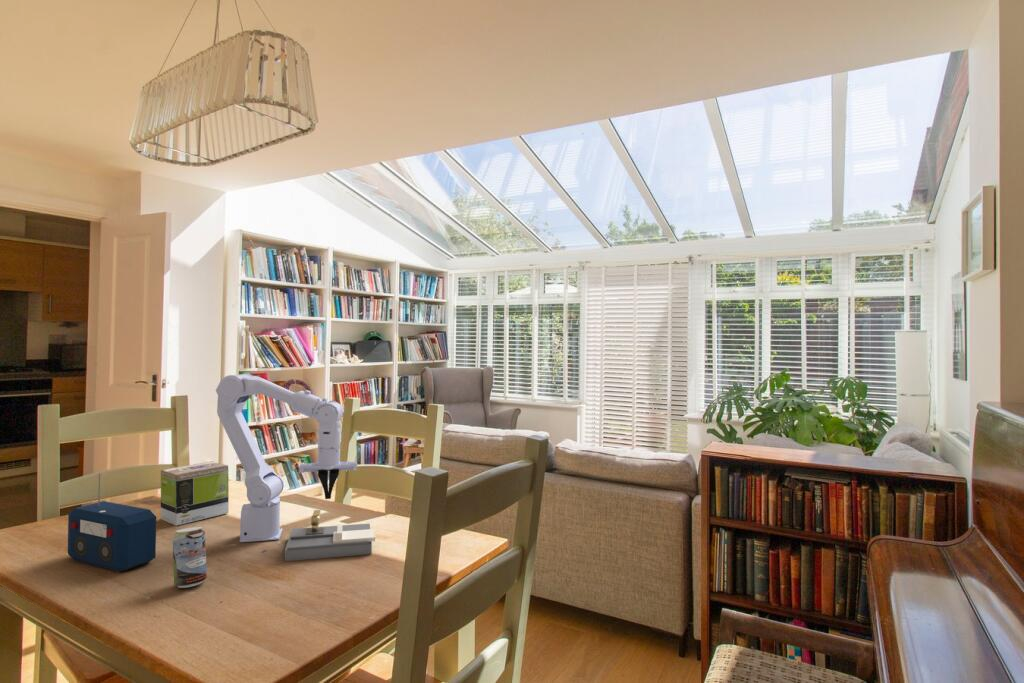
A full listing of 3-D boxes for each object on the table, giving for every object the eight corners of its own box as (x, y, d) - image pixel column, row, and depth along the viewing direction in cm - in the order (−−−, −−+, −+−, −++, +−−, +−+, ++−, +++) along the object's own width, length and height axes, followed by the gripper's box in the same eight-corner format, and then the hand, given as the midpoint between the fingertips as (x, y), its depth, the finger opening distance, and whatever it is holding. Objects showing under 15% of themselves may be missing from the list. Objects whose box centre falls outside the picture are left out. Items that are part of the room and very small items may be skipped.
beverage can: (183, 594, 114) (184, 536, 114) (164, 585, 118) (165, 529, 118) (213, 583, 120) (214, 527, 120) (194, 575, 124) (195, 521, 124)
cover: (332, 544, 136) (333, 533, 136) (333, 535, 143) (333, 525, 143) (375, 541, 139) (375, 530, 139) (374, 532, 145) (374, 522, 145)
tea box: (212, 507, 173) (213, 460, 173) (229, 514, 167) (230, 464, 167) (159, 519, 161) (160, 468, 161) (175, 527, 155) (176, 473, 155)
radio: (60, 560, 130) (62, 475, 130) (100, 548, 138) (102, 467, 138) (121, 576, 123) (123, 485, 123) (159, 562, 131) (160, 476, 131)
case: (284, 561, 133) (284, 548, 133) (291, 538, 148) (291, 526, 148) (371, 554, 138) (371, 541, 138) (369, 532, 154) (369, 521, 154)
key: (318, 531, 146) (318, 517, 146) (310, 531, 145) (310, 517, 145) (320, 523, 152) (321, 509, 152) (313, 523, 152) (313, 510, 152)
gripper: (298, 451, 144) (297, 503, 144) (357, 449, 148) (356, 500, 148) (301, 446, 151) (300, 496, 151) (357, 444, 155) (356, 493, 155)
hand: (328, 498), depth 150 cm, fingers closed
